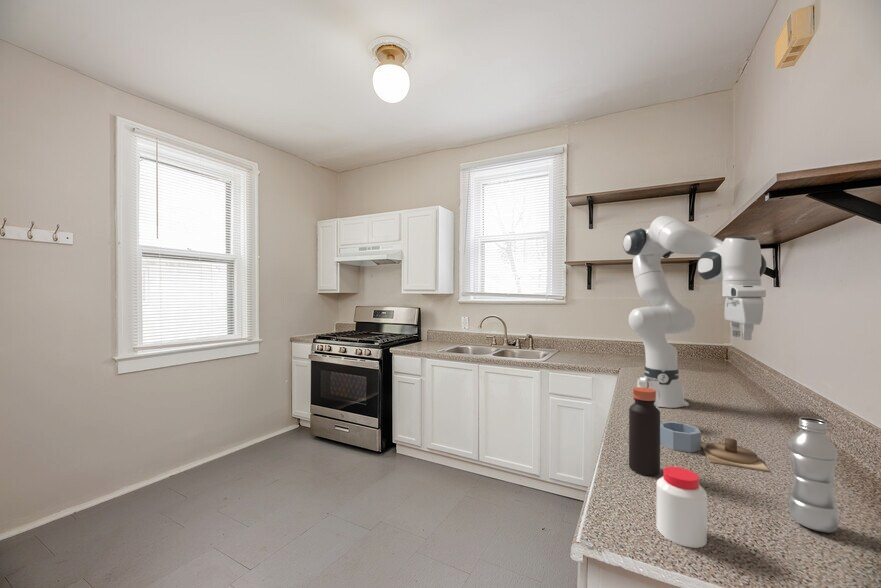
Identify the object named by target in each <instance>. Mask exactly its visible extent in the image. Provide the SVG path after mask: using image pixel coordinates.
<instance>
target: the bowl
mask: <svg viewBox="0 0 881 588" xmlns="http://www.w3.org/2000/svg"><path fill="white" fill-rule="evenodd" d="M701 442H702V433H701V430H700V429H699V427H697V426H694V425H690V424H687V423H683V422H675V421H663V422H661V421H660V446H661V445H662V446H663V447H665V448H668V449H670V450H672V451H679V452H685V453H694V452H699V451H701V450H702V448H701Z"/></svg>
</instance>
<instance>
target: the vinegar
mask: <svg viewBox="0 0 881 588" xmlns="http://www.w3.org/2000/svg"><path fill="white" fill-rule="evenodd" d="M632 398H633V401H634V403H632V404H631V405H630V407H629V409H628V412H629V413H628V420H629V421H628V467H629V469H631V470H632V471H633V472H634V473H637V474H639V475H643V476H647V477H651V476H652V477H653V476H658V475H659V474H660V473H661V444H660V423H661V412H660V409H659V408H658V409H657V408H656V407H655V405H654V402H656V401H655V400H656V391H655V390H653V389H650V388H644V387H637V386H636V387H634V388H633V395H632Z"/></svg>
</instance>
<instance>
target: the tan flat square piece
mask: <svg viewBox="0 0 881 588" xmlns="http://www.w3.org/2000/svg"><path fill="white" fill-rule="evenodd" d="M709 443H710V442H704V441H701V450H702V451H703V453H704V454H705V456H706V457H707V460H708V461H709V462H710V463H712V464H719V465H724V466H731V467H735V468H736V467H737V468H741V469H742V468H744V469H749V470H754V471H755V470H756V471H759V472H761V471H762V472H767V473H770V471H771V470H770V469H769V468H768V467H767V466H766V465H765V464H764V463H763V461H762V460H761V459H760V458H759V457H758V461H757V462H756V463H753V464H741V463H735V462H730V461H726V460H723V459H720V458H717V457H714V456H712V455H711V454H709V453H708V452H707V451H706V445H707V444H709ZM744 448H745V449H748V450H750V451H752V449H750V448H746V447H744Z"/></svg>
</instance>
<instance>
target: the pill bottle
mask: <svg viewBox="0 0 881 588" xmlns="http://www.w3.org/2000/svg"><path fill="white" fill-rule="evenodd" d="M662 470H663V475H662V476H661V477H659V478H658V479H657V480H656V483H655V484H656V485H655V486H656V489H655V490H656V493H655V494H656V496H655V497H656V499H655V501H656V503H655V504H656V507H655V510H656V511H655V513H656V514H655V517H656V519H655V520H656V521H655V523H656V525H655V526H656V527H657V528H656V530H657V529H658V530H657V532H658V531H659V532H660V533H661V534H662V535H663V536H664V537H663V536H662V535H661V534H660V533H659V532H658V533H659V534H660V535H661V536H662V537H663V538H664V539H666V540H668V541H670V542H671V541H672V543H674V544H676V545H679V546H683V547H686V548H692V549H697V548H699V549H700V548H703V547H705V546H706V545H707V543H708V494H707V493H708V492H707V491H706V490H705V489H704V488H703V486H701V485H700V476H699V475H698V474H697V473H696V472H694V471H692V470H689V469H687V468H684V467H681V466H672V465H671V466H665V467H664V468H663V469H662Z"/></svg>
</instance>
